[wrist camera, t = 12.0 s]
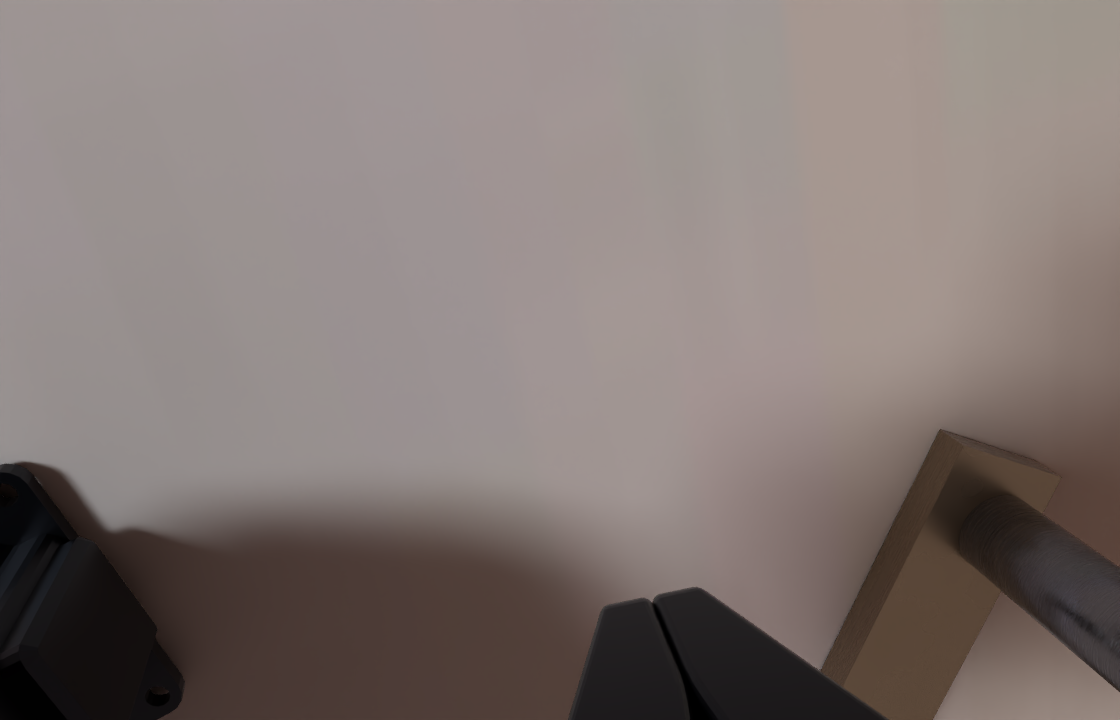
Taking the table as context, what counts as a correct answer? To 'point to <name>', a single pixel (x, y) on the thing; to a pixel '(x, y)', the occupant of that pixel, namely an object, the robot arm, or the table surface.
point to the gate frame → (970, 580)
